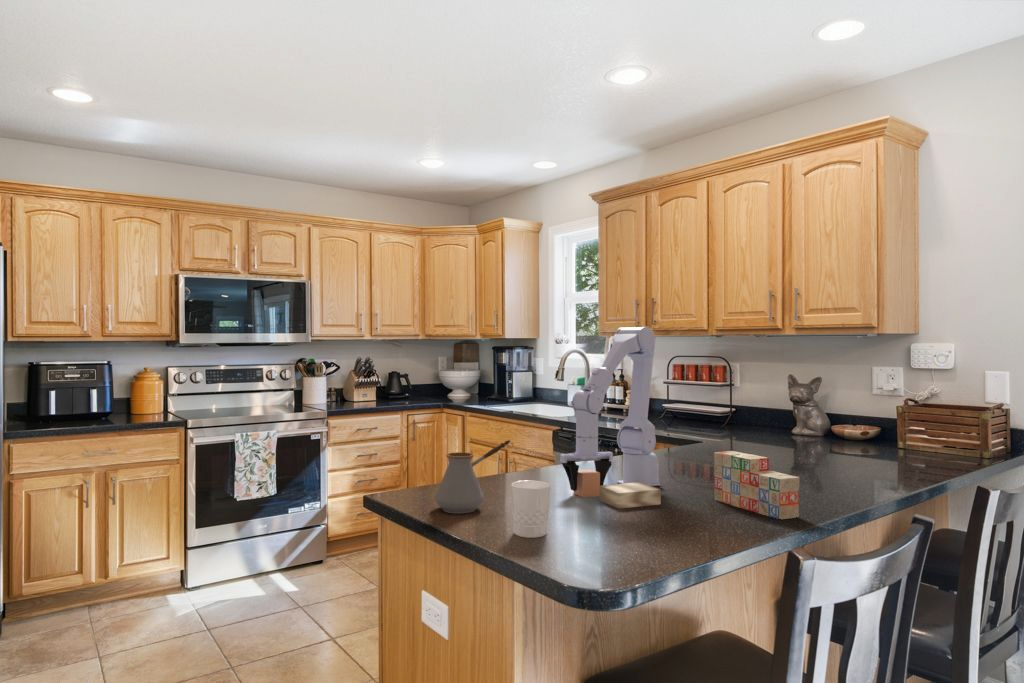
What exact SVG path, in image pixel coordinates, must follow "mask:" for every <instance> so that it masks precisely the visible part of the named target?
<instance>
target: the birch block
mask: <svg viewBox="0 0 1024 683" xmlns="http://www.w3.org/2000/svg"><path fill="white" fill-rule="evenodd" d="M661 492H662V490H661V489H660V488H658V487H656V486H649V485H646V484H644V483H641V482H636V483H624V484H620V483H615V484H613V483H612V484H603V485H600V486H599V496H598V499H599V501H600V502H602V503H605V504H607V505H610V506H611V507H614V508H616V509H626V508H627V509H628V508H638V507H647V506H659V505H661V503H662V498H661V497H662V494H661Z"/></svg>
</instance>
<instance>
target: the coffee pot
mask: <svg viewBox="0 0 1024 683" xmlns="http://www.w3.org/2000/svg"><path fill="white" fill-rule="evenodd" d="M509 444H511V445H512V446H510V445H509ZM506 445H507V446H508V447H509V448H510V449H511V448H513V447H514V443H513V442H512V441H511V440H510V439H507V440H505V441H504V442H501V443H500V445H497V446H495V447H493V448H492V449H490V450H488V452H486V453H485V454H483V455H482V456H480V457H479V458H478V459H476V460H474V461H472V458H473V457H474V453H470V452H450V453H447V454H446V455H445V456H446V458H447V460H448V465H447V468H446V470H445V472H444V475H443V477H442V479H441V482H440V484H439V486H438V489H437V491H436V494H435V496H434V501H435V503H436V504H437V506H438V507H439V508H441V509H442V511H444V512H445V513H448V514H449V513H450V514H470V513H472V512H475V511H476V510H477V508H479V507H480V506H481V505H482V504H483V502H484V499H485V497H484V496H485V495H484V493H483V490H482V488H481V486H480V483H479V480H478V478H477V475H476V472H475V471H474V468H473V467H475V466H476V465H478V464H479V463H481V462H482V461H484V460H485V459H487V458H489V457H491V456H492V455H494V454H496V453H498V452H499V451H500V450H502V449H503V448H505V447H506Z"/></svg>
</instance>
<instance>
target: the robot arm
mask: <svg viewBox="0 0 1024 683" xmlns="http://www.w3.org/2000/svg"><path fill="white" fill-rule="evenodd" d="M612 343H613V344H612V346H611V347H610V350H609V351H608V353H607V355H606V357H605V359H604V361H603V364H602V365H601V367H596V368H595V369H593V370H592V372H591V374H590V376H589V378H588V379H587V381H586V382H585V384H584V385H583V387H582V389H580V390H578V391H576V392H575V393H574V394H573V397H572V400H571V401H570V404H571V407H572V410H573V413H574V417H575V421H576V422H575V452H571V453H566V454H565V453H563V454H562V453H561V454H560V458H559V460H560V463H561V464H562V467H563V469H564V470H565V473H566V476H567V479H568V482H569V487H570V488H569V489H570V490H571V491H573V492H574V491H577V475H578V470H580V469H579V468H580V465H578V464H577V463H578V462H593V461H594V462H593V463H594V469H595V471H596V472H599V473H600V485H605V484H604V483H605V479H606V476H607V474H608V472H609V470H610V468H611V467H612V461H613V459H614V452H613V451H599V413H600V411H601V410H602V409H603V407H604V401H605V396H606V393H607V392H608V390H609V388H610V386H611V385H612V383H613V382H614V375H613V373H614V372H615V370H616V369H617V368H618V367H619V366H620V364H621V362H622V361H623V360H624V359H625V358H626V356H628V357H629V358H630V359H631V361H632V362H633V363H632V372H631V373H632V374H631V385H630V395H629V403H628V405H629V406H628V414H627V417H626V418H624V420H622V421H621V422H620V427H619V430H618V432H617V435H616V443H617V445H618V447H619V448H620V452H622V480H621V479H620V480H616V484H624V483H636V482H641V483H644V484H646V485H649V486H652V487H657V486H658V487H659V486H661V483H659V472H660V470H659V466H660V465H659V464H660V463H659V459H658V456H657V454H656V453H654V452H653V451H654V450H655V448H656V443H657V439H656V432H655V431H656V427H655V425H654V424H653V423H652V422H651V421H650V420H649V419H648V416H649V406H650V398H651V396H650V395H651V386H652V385H651V384H652V376H653V375H652V374H653V365H654V356H655V349H656V348H655V347H656V346H655V345H656V335H655V334H654V332H653V330H652V329H651V328H650V327H649V326H642V327H641V326H640V327H638V326H637V327H622V326H620V327H619V328H617V330H616V332H615V333H614V335H613V336H612ZM638 428H639V429H638Z"/></svg>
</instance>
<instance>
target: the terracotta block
mask: <svg viewBox="0 0 1024 683" xmlns="http://www.w3.org/2000/svg"><path fill="white" fill-rule="evenodd" d="M599 486H600V473H599V472H596V470H594V469H589V468H588V469H578V475H577V491H573V494H574V495H576V496H579V497H581V498H590V497H591V498H594V497H599Z"/></svg>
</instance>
